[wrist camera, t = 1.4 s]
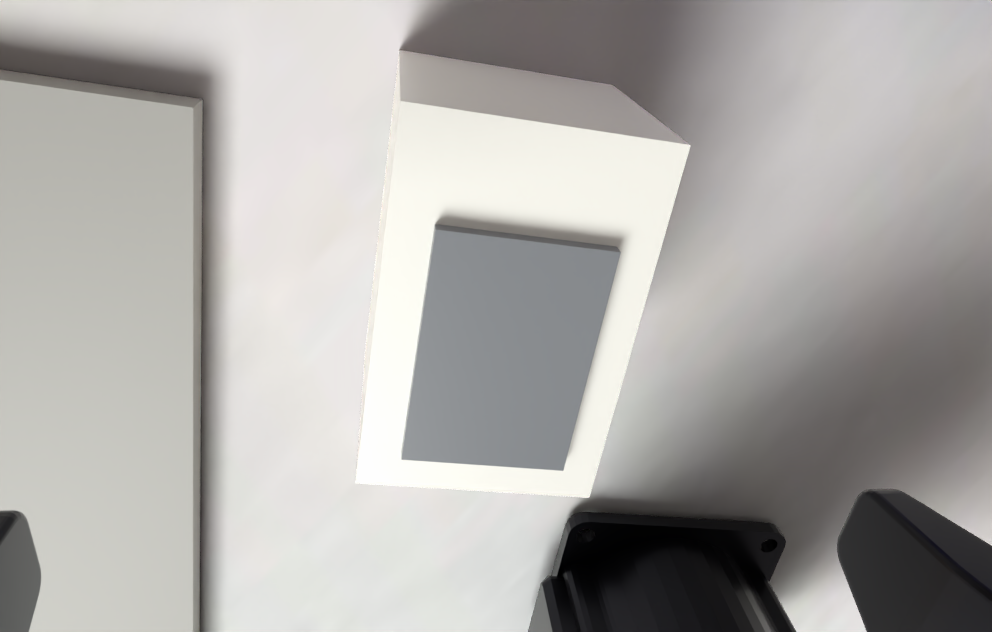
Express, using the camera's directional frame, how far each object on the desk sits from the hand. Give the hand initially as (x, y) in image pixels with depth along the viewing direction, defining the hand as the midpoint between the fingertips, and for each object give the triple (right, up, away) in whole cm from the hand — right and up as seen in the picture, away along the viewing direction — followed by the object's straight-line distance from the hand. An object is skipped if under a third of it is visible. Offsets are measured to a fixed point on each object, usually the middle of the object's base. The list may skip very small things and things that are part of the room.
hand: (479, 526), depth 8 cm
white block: (0, +4, +9) cm, 10 cm away
